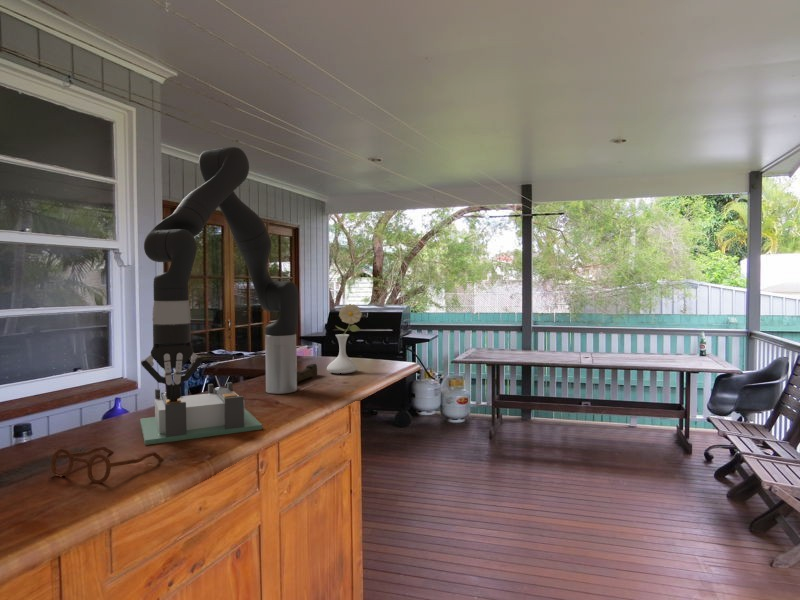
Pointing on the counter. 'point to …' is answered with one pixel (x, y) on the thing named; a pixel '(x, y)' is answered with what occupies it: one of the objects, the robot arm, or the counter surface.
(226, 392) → the strap
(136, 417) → the counter surface
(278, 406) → the counter surface
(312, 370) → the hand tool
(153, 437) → the base
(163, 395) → the strap
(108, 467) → the glasses
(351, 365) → the flower in vase
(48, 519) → the counter surface
